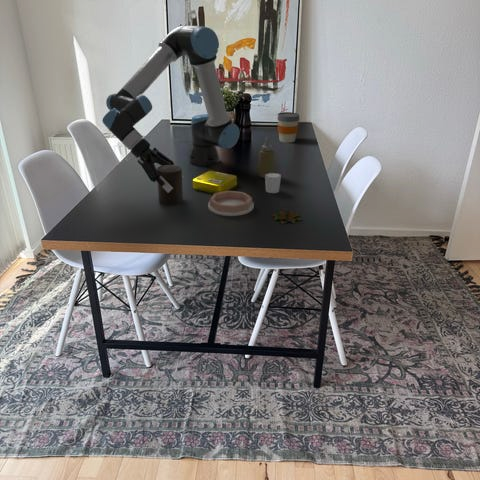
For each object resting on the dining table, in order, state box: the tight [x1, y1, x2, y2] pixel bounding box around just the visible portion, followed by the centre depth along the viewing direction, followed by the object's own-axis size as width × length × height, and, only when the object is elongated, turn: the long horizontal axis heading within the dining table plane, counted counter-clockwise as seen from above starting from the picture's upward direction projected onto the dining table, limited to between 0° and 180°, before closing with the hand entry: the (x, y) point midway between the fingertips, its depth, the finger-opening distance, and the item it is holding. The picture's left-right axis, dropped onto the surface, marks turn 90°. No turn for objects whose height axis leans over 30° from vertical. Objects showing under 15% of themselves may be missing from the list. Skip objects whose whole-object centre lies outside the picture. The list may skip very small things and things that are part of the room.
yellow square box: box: [192, 170, 238, 195], centre depth 199 cm, size 15×15×5 cm
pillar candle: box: [156, 164, 184, 206], centre depth 181 cm, size 10×10×15 cm
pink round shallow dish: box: [207, 190, 255, 217], centre depth 179 cm, size 18×18×4 cm
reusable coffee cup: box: [277, 111, 300, 144], centre depth 263 cm, size 13×13×15 cm
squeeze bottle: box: [257, 137, 276, 179], centre depth 207 cm, size 8×8×18 cm
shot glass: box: [264, 172, 282, 194], centre depth 194 cm, size 7×7×7 cm
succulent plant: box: [271, 207, 303, 225], centre depth 170 cm, size 12×12×5 cm
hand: (176, 185), depth 181 cm, fingers open, 12 cm apart
